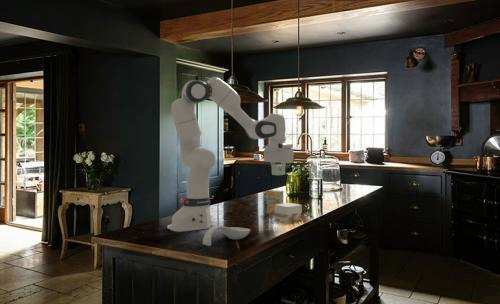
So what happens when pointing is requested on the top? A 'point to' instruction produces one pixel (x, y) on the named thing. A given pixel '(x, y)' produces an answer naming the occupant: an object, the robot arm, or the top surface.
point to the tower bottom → (287, 217)
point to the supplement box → (274, 200)
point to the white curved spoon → (226, 233)
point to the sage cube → (277, 170)
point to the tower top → (288, 208)
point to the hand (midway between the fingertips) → (278, 170)
